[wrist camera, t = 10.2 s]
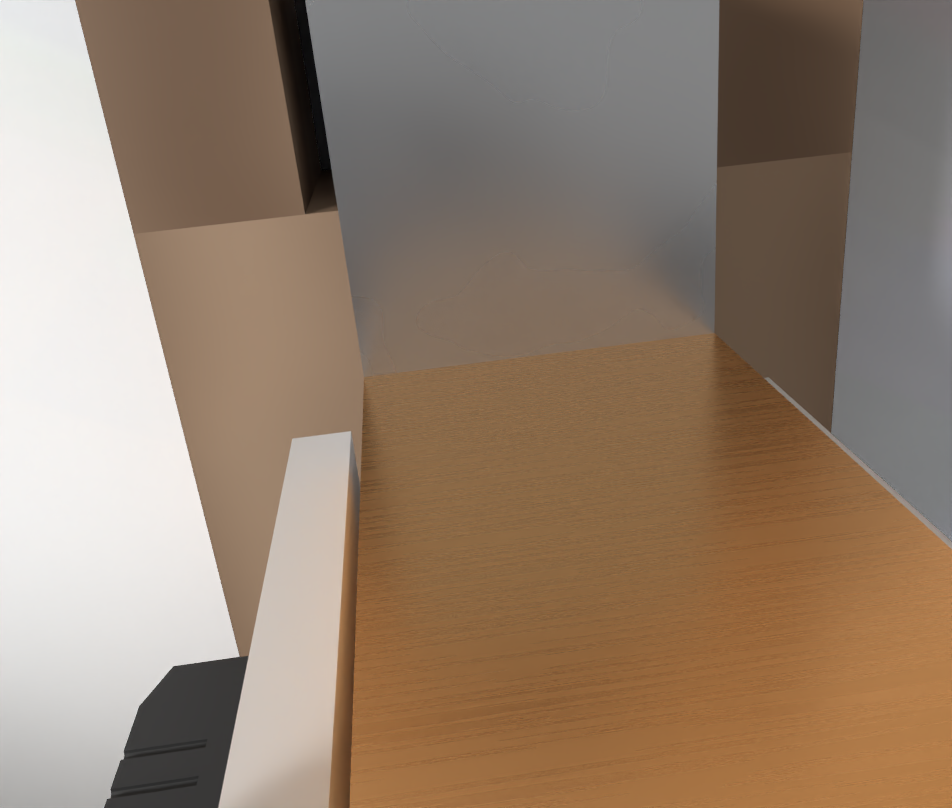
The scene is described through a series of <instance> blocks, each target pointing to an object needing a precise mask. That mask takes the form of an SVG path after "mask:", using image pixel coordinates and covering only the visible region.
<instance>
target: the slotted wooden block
mask: <svg viewBox="0 0 952 808" xmlns="http://www.w3.org/2000/svg"><path fill="white" fill-rule="evenodd" d="M75 2H76V6H77V10H78V14H79V18H80V22H81V26H82V30H83V34H84V38H85V42H86V46H87V50H88V54H89V58H90V62H91V66H92V70H93V74H94V78H95V82H96V86H97V89H98V93H99V97H100V101H101V105H102V109H103V113H104V117H105V121H106V125H107V129H108V133H109V137H110V141H111V145H112V149H113V153H114V157H115V161H116V165H117V169H118V173H119V177H120V181H121V185H122V189H123V193H124V197H125V201H126V205H127V209H128V213H129V217H130V221H131V225H132V229H133V233H134V237H135V241H136V245H137V249H138V253H139V257H140V261H141V265H142V269H143V273H144V277H145V281H146V285H147V289H148V293H149V297H150V301H151V305H152V309H153V313H154V317H155V321H156V325H157V329H158V333H159V337H160V341H161V345H162V349H163V352H164V356H165V360H166V364H167V368H168V372H169V376H170V380H171V384H172V388H173V392H174V396H175V400H176V404H177V408H178V412H179V416H180V420H181V424H182V428H183V432H184V436H185V440H186V444H187V448H188V452H189V456H190V460H191V464H192V468H193V472H194V476H195V480H196V484H197V488H198V492H199V496H200V500H201V504H202V508H203V512H204V516H205V520H206V524H207V528H208V532H209V536H210V540H211V544H212V548H213V552H214V556H215V560H216V564H217V568H218V572H219V576H220V580H221V584H222V588H223V592H224V596H225V600H226V604H227V608H228V612H229V615H230V619H231V623H232V627H233V631H234V635H235V639H236V643H237V647H238V651H239V655H240V657H243V656H249V652H250V647H251V642H252V637H253V632H254V627H255V622H256V617H257V612H258V607H259V602H260V597H261V592H262V587H263V582H264V577H265V572H266V567H267V562H268V557H269V552H270V547H271V543H272V538H273V533H274V528H275V523H276V518H277V513H278V508H279V503H280V498H281V493H282V488H283V483H284V478H285V473H286V468H287V463H288V458H289V453H290V448H291V443H292V439H293V438H301V437H309V436H317V435H325V434H332V433H340V432H348V431H351V434H352V440H353V446H354V452H355V458H356V464H357V470H358V476H359V482H361V453H362V423H363V393H364V374H363V367H362V361H361V354H360V348H359V342H358V335H357V329H356V322H355V316H354V310H353V303H352V297H351V290H350V284H349V278H348V271H347V265H346V258H345V252H344V246H343V239H342V233H341V226H340V220H339V214H338V207H337V201H336V194H335V188H334V182H333V175H332V169H328V170H321V164H320V157H319V151H318V145H317V139H316V132H315V126H314V120H313V114H312V107H311V101H310V95H309V89H308V82H307V76H306V70H305V64H304V57H303V51H302V45H301V39H300V32H299V26H298V20H297V14H296V8H295V1H294V0H75ZM862 13H863V0H719V60H718V126H717V192H716V259H715V325H714V333H715V334H716V335H717V336H718V337H719V338H720V339H721V340H723V341H724V342H725V343H726V344H727V345H728V346H729V347H730V348H731V349H732V350H734V351H735V352H736V353H737V354H738V355H739V356H740V357H741V358H742V359H743V360H745V361H746V362H747V363H748V364H749V365H750V366H751V367H752V368H753V369H754V370H756V371H757V372H758V373H759V374H760V375H761V376H762V377H763V378H767V377H769V378H770V379H771V380H772V381H773V382H774V383H776V384H777V385H778V386H779V387H780V388H781V389H782V390H783V391H784V392H786V393H787V394H788V395H789V396H790V397H791V398H792V399H793V400H794V401H796V402H797V403H798V404H799V405H800V406H801V407H802V408H803V409H805V410H806V411H807V412H808V413H809V414H810V415H811V416H812V417H813V418H815V419H816V420H817V421H818V422H819V423H820V424H821V425H822V426H824V427H825V428H826V429H827V430H828V431H829V432H830V433H831V425H832V411H833V398H834V385H835V371H836V358H837V345H838V332H839V318H840V305H841V292H842V278H843V265H844V252H845V239H846V225H847V212H848V199H849V185H850V172H851V159H852V146H853V132H854V119H855V106H856V92H857V79H858V66H859V53H860V39H861V26H862Z"/></svg>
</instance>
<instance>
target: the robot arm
mask: <svg viewBox="0 0 952 808" xmlns="http://www.w3.org/2000/svg"><path fill="white" fill-rule="evenodd" d="M764 379H765V380H767V381H768V382H769V383H770V384H771V385H772V386H773V387H774V388H775V389H776V390H777V391H779V392H780V393H781V394H782V395H783V396H784V397H785V398H786V399H787V400H788V401H790V402H791V403H792V404H793V405H794V406H795V407H796V408H797V409H798V410H799V411H801V412H802V413H803V414H804V415H805V416H806V417H807V418H808V419H809V420H810V421H812V422H813V423H814V424H815V425H816V426H817V427H818V428H819V429H820V430H821V431H823V432H824V433H825V434H826V435H827V436H828V437H829V438H830V439H831V440H832V441H833V442H835V443H836V444H837V445H838V446H839V447H840V448H841V449H842V450H843V451H844V452H846V453H847V454H848V455H849V456H850V457H851V458H852V459H853V460H854V461H855V462H857V463H858V464H859V465H860V466H861V467H862V468H863V469H864V470H865V471H866V472H868V473H869V474H870V475H871V476H872V477H873V478H874V479H875V480H876V481H877V482H879V483H880V484H881V485H882V486H883V487H884V488H885V489H886V490H887V491H888V492H889V493H891V494H892V495H893V496H894V497H895V498H896V499H897V500H898V501H899V502H900V503H902V504H903V505H904V506H905V507H906V508H907V509H908V510H909V511H910V512H911V513H913V514H914V515H915V516H916V517H917V518H918V519H919V520H920V521H921V522H922V523H924V524H925V525H926V526H927V527H928V528H929V529H930V530H931V531H932V532H933V533H934V534H936V535H937V536H938V537H939V538H940V539H941V540H942V541H943V542H944V543H945V544H947V545H948V546H949V547H950V548H951V549H952V541H951V540H950V539H948V538H947V537H946V536H945V535H944V534H943V533H942V532H941V531H940V530H938V529H937V528H936V527H935V526H934V525H933V524H932V523H931V522H929V521H928V520H927V519H926V518H925V517H924V516H923V515H922V514H921V513H919V512H918V511H917V510H916V509H915V508H914V507H913V506H912V505H911V504H909V503H908V502H907V501H906V500H905V499H904V498H903V497H902V496H900V495H899V494H898V493H897V492H896V491H895V490H894V489H893V488H892V487H890V486H889V485H888V484H887V483H886V482H885V481H884V480H883V479H882V478H880V477H879V476H878V475H877V474H876V473H875V472H874V471H873V470H871V469H870V468H869V467H868V466H867V465H866V464H865V463H864V462H863V461H861V460H860V459H859V458H858V457H857V456H856V455H855V454H854V453H853V452H851V451H850V450H849V449H848V448H847V447H846V446H845V445H844V444H842V443H841V442H840V441H839V440H838V439H837V438H836V437H835V436H834V435H832V434H831V433H830V432H829V431H828V430H827V429H826V428H825V427H824V426H822V425H821V424H820V423H819V422H818V421H817V420H816V419H815V418H813V417H812V416H811V415H810V414H809V413H808V412H807V411H806V410H805V409H803V408H802V407H801V406H800V405H799V404H798V403H797V402H796V401H794V400H793V399H792V398H791V397H790V396H789V395H788V394H787V393H786V392H784V391H783V390H782V389H781V388H780V387H779V386H778V385H777V384H776V383H774V382H773V381H772V380H771V379H770V378H769V377H767V378H764ZM359 512H360V482H359V476H358V470H357V464H356V458H355V452H354V446H353V440H352V434H351V431H348V432H340V433H332V434H325V435H317V436H309V437H301V438H293V439H292V443H291V448H290V453H289V458H288V463H287V468H286V473H285V478H284V483H283V488H282V493H281V498H280V503H279V508H278V513H277V518H276V523H275V528H274V533H273V538H272V543H271V547H270V552H269V557H268V562H267V567H266V572H265V577H264V582H263V587H262V592H261V597H260V602H259V607H258V612H257V617H256V622H255V627H254V632H253V637H252V642H251V647H250V652H249V656H243V657H236V658H229V659H222V660H215V661H208V662H201V663H194V664H187V665H180V666H173V668H172V669H171V670H170V671H169V672H168V673H167V675H166V676H165V677H164V678H163V679H162V680H161V682H160V683H159V684H158V685H157V686H156V688H155V689H154V690H153V691H152V692H151V693H150V695H149V696H148V697H147V698H146V699H145V700H144V702H143V703H142V704H141V705H140V706H139V709H138V712H137V715H136V718H135V720H134V723H133V726H132V729H131V732H130V735H129V738H128V741H127V744H126V746H125V749H124V760H121V761H120V764H119V767H118V770H117V772H116V775H115V778H114V781H113V784H112V787H111V799H107V801H106V804H105V807H104V808H350V779H351V749H352V719H353V690H354V660H355V630H356V601H357V571H358V542H359Z"/></svg>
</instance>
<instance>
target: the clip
mask: <svg viewBox="0 0 952 808" xmlns="http://www.w3.org/2000/svg"><path fill="white" fill-rule="evenodd" d="M305 3H306V9H307V15H308V22H309V28H310V35H311V41H312V47H313V54H314V60H315V67H316V73H317V79H318V86H319V92H320V99H321V105H322V111H323V118H324V124H325V131H326V137H327V143H328V150H329V156H330V163H331V169H332V175H333V182H334V188H335V194H336V201H337V207H338V214H339V220H340V226H341V233H342V239H343V246H344V252H345V258H346V265H347V271H348V278H349V284H350V290H351V297H352V303H353V310H354V316H355V322H356V329H357V335H358V342H359V348H360V354H361V361H362V367H363V374H364V393H363V423H362V453H361V482H360V512H359V542H358V571H357V601H356V630H355V660H354V690H353V719H352V749H351V779H350V808H952V549H951V548H950V547H949V546H948V545H947V544H945V543H944V542H943V541H942V540H941V539H940V538H939V537H938V536H937V535H936V534H934V533H933V532H932V531H931V530H930V529H929V528H928V527H927V526H926V525H925V524H924V523H922V522H921V521H920V520H919V519H918V518H917V517H916V516H915V515H914V514H913V513H911V512H910V511H909V510H908V509H907V508H906V507H905V506H904V505H903V504H902V503H900V502H899V501H898V500H897V499H896V498H895V497H894V496H893V495H892V494H891V493H889V492H888V491H887V490H886V489H885V488H884V487H883V486H882V485H881V484H880V483H879V482H877V481H876V480H875V479H874V478H873V477H872V476H871V475H870V474H869V473H868V472H866V471H865V470H864V469H863V468H862V467H861V466H860V465H859V464H858V463H857V462H855V461H854V460H853V459H852V458H851V457H850V456H849V455H848V454H847V453H846V452H844V451H843V450H842V449H841V448H840V447H839V446H838V445H837V444H836V443H835V442H833V441H832V440H831V439H830V438H829V437H828V436H827V435H826V434H825V433H824V432H823V431H821V430H820V429H819V428H818V427H817V426H816V425H815V424H814V423H813V422H812V421H810V420H809V419H808V418H807V417H806V416H805V415H804V414H803V413H802V412H801V411H799V410H798V409H797V408H796V407H795V406H794V405H793V404H792V403H791V402H790V401H788V400H787V399H786V398H785V397H784V396H783V395H782V394H781V393H780V392H779V391H777V390H776V389H775V388H774V387H773V386H772V385H771V384H770V383H769V382H768V381H767V380H765V379H764V378H763V377H762V376H761V375H760V374H759V373H758V372H757V371H756V370H754V369H753V368H752V367H751V366H750V365H749V364H748V363H747V362H746V361H745V360H743V359H742V358H741V357H740V356H739V355H738V354H737V353H736V352H735V351H734V350H732V349H731V348H730V347H729V346H728V345H727V344H726V343H725V342H724V341H723V340H721V339H720V338H719V337H718V336H717V335H716V334H715V333H714V325H715V259H716V192H717V126H718V60H719V0H305Z"/></svg>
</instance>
